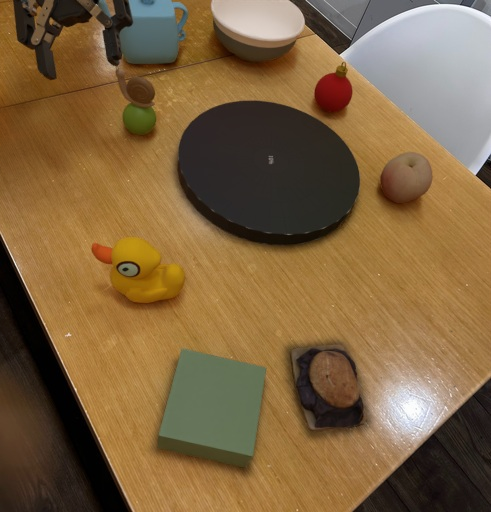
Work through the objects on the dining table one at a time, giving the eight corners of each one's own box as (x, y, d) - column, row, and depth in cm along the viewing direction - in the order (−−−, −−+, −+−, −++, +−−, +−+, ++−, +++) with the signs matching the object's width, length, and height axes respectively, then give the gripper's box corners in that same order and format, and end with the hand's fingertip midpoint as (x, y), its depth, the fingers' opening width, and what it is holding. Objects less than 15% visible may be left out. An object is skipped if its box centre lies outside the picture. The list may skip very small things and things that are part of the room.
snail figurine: (123, 115, 85) (121, 51, 75) (160, 125, 85) (162, 63, 75) (112, 135, 82) (108, 71, 72) (150, 145, 82) (151, 83, 72)
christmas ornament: (350, 120, 95) (369, 74, 87) (315, 120, 93) (332, 74, 85) (338, 96, 99) (356, 51, 91) (305, 96, 97) (320, 49, 89)
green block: (156, 448, 55) (158, 435, 51) (178, 365, 61) (181, 347, 57) (244, 467, 55) (253, 456, 51) (258, 383, 61) (266, 367, 57)
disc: (379, 239, 78) (387, 227, 76) (191, 252, 71) (193, 239, 68) (324, 114, 95) (329, 101, 92) (166, 113, 87) (167, 99, 85)
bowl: (271, 22, 111) (280, -16, 104) (310, 72, 102) (322, 35, 95) (193, 28, 104) (196, -12, 97) (227, 82, 95) (233, 43, 89)
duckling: (91, 302, 64) (84, 257, 56) (101, 267, 67) (96, 220, 59) (179, 314, 65) (184, 272, 57) (185, 280, 68) (191, 236, 60)
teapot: (87, 32, 97) (82, -28, 88) (178, 32, 102) (182, -25, 93) (96, 71, 90) (91, 10, 81) (192, 69, 96) (197, 11, 87)
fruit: (368, 176, 87) (387, 141, 80) (410, 178, 88) (431, 144, 82) (380, 211, 82) (400, 177, 76) (424, 213, 84) (447, 179, 77)
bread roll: (285, 350, 64) (292, 337, 61) (345, 345, 66) (355, 332, 63) (303, 433, 58) (312, 424, 56) (369, 425, 60) (381, 415, 57)
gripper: (-12, -64, 58) (10, 73, 59) (100, -97, 56) (123, 47, 56) (26, -31, 66) (46, 91, 66) (126, -58, 63) (147, 68, 64)
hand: (81, 70), depth 61 cm, fingers open, 8 cm apart
